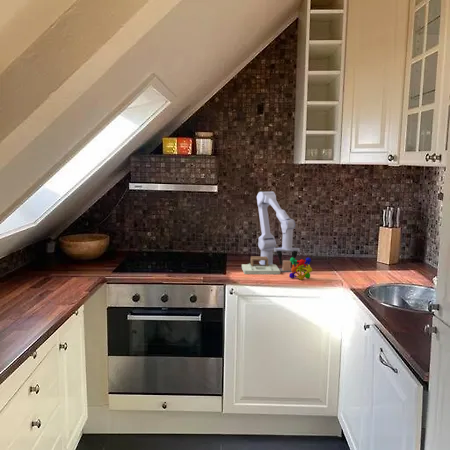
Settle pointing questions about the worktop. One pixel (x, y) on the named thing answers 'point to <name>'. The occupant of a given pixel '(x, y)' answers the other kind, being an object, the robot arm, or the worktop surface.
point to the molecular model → (300, 268)
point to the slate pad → (284, 271)
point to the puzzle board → (260, 269)
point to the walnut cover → (259, 259)
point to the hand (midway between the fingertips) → (286, 264)
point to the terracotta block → (286, 265)
